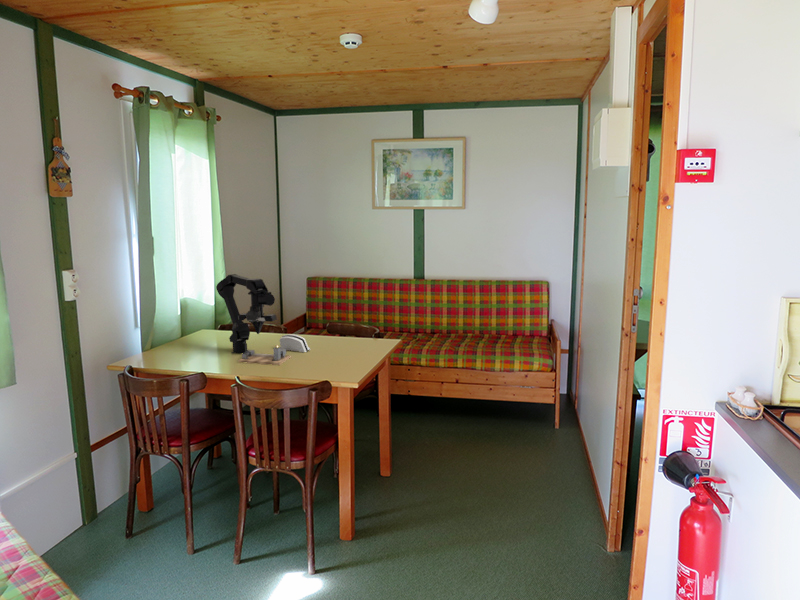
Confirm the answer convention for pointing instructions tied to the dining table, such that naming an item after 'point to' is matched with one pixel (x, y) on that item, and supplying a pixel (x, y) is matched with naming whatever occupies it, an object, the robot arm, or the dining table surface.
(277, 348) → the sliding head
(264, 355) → the rail
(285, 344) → the grey curved block
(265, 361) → the brown wooden board
